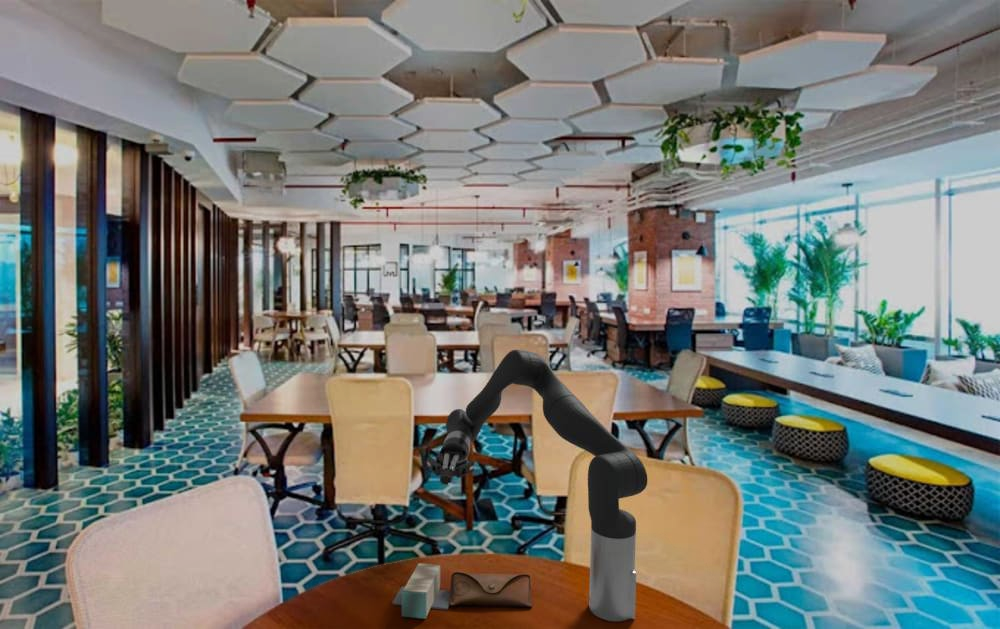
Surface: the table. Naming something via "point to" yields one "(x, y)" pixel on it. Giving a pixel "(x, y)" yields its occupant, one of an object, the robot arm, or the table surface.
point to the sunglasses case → (490, 590)
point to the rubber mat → (439, 602)
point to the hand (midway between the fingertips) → (445, 481)
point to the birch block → (421, 591)
